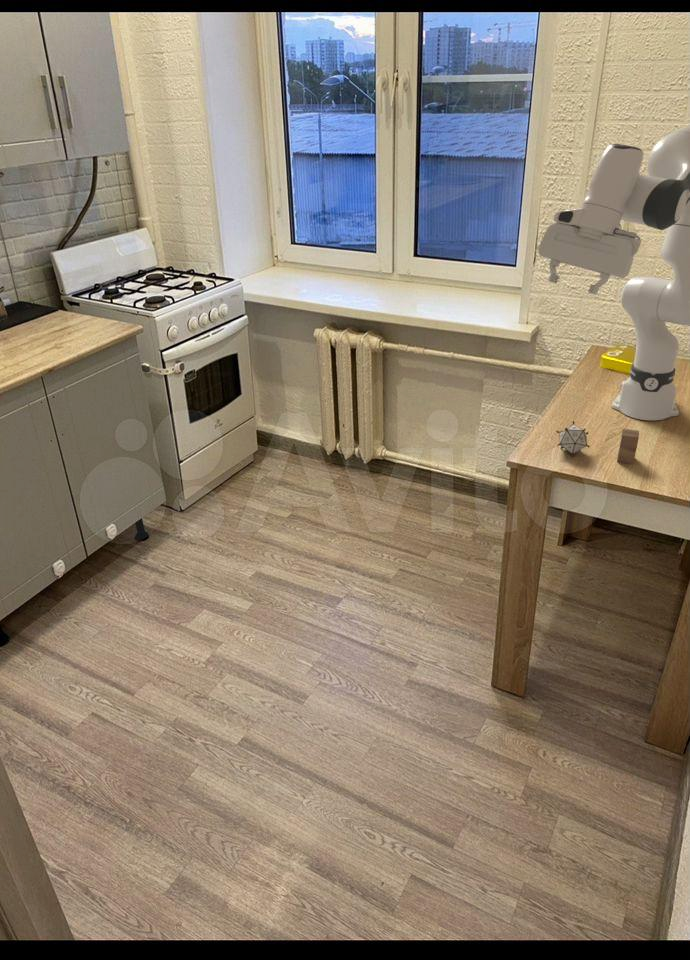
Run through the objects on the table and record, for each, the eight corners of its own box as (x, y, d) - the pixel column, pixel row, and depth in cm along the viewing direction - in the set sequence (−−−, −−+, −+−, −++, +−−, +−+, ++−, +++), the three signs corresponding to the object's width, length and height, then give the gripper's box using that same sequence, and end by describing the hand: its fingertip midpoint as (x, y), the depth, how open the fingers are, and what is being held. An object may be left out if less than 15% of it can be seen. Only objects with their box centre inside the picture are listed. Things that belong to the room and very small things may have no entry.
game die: (565, 460, 196) (566, 424, 197) (594, 459, 190) (596, 422, 191) (549, 455, 190) (551, 418, 191) (579, 454, 184) (580, 416, 185)
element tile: (639, 378, 235) (642, 364, 233) (597, 367, 244) (599, 354, 242) (658, 365, 245) (661, 352, 242) (616, 355, 254) (619, 342, 251)
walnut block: (617, 455, 190) (623, 428, 186) (633, 457, 189) (639, 430, 185) (617, 462, 187) (622, 435, 183) (633, 464, 186) (638, 437, 181)
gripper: (647, 238, 148) (621, 303, 152) (558, 217, 159) (536, 278, 163) (640, 231, 143) (613, 298, 147) (548, 210, 154) (525, 274, 157)
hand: (571, 288), depth 155 cm, fingers open, 8 cm apart
